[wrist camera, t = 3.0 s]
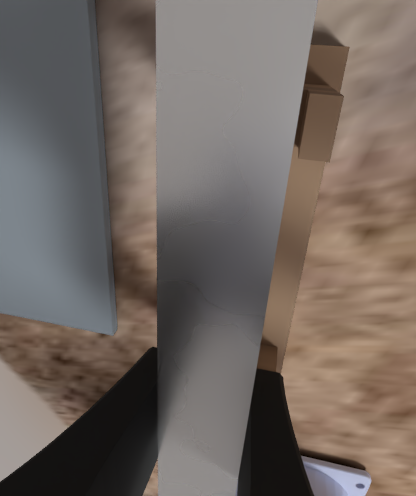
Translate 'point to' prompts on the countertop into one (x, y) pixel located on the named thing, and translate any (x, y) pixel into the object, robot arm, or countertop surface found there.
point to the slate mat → (53, 168)
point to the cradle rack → (302, 194)
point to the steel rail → (219, 218)
